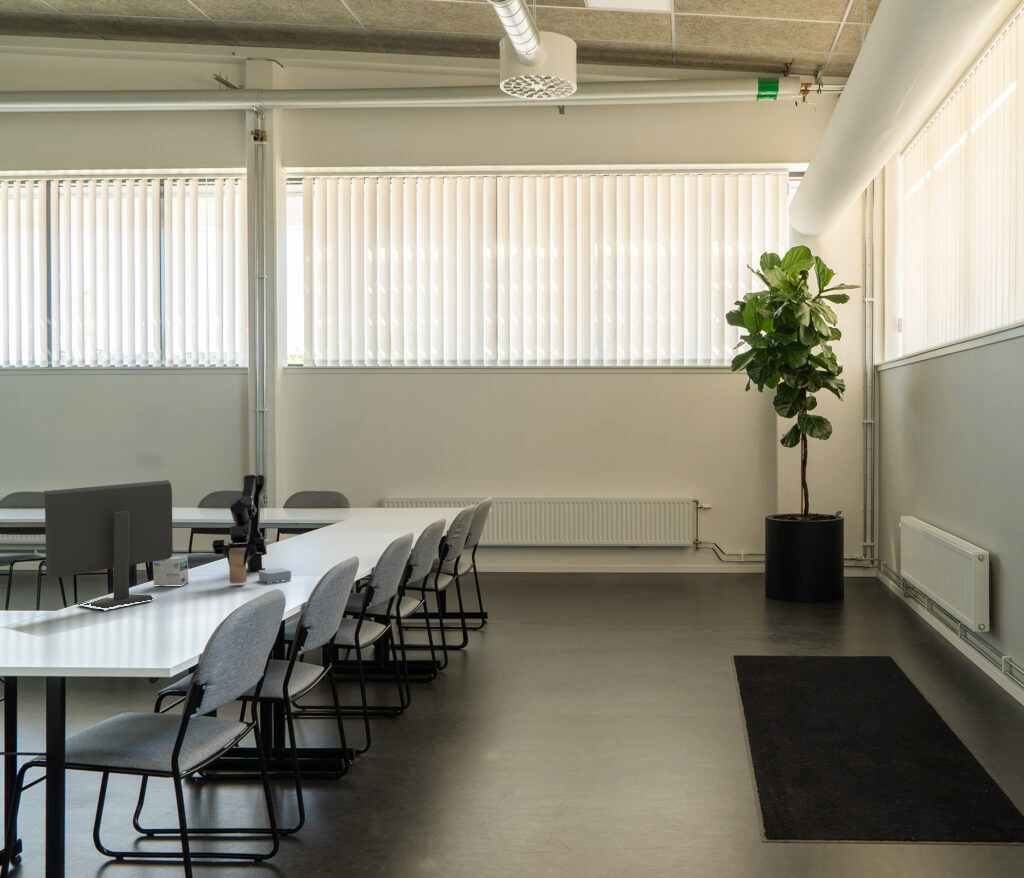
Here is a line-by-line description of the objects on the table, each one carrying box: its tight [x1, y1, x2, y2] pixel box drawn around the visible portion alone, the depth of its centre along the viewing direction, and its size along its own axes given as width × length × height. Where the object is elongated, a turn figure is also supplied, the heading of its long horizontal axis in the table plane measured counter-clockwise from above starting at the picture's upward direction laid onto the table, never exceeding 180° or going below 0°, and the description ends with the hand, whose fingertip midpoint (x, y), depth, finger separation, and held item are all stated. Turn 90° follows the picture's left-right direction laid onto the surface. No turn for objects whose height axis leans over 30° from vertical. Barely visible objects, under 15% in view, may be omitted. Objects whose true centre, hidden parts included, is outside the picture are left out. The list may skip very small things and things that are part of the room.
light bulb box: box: [152, 555, 190, 586], centre depth 334 cm, size 11×7×11 cm, turn 84°
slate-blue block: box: [258, 567, 292, 584], centre depth 339 cm, size 9×9×4 cm
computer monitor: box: [44, 479, 174, 608], centre depth 302 cm, size 44×16×40 cm, turn 145°
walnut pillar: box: [228, 548, 248, 585], centre depth 330 cm, size 5×5×12 cm
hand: (237, 564), depth 329 cm, fingers closed on walnut pillar, 5 cm apart
